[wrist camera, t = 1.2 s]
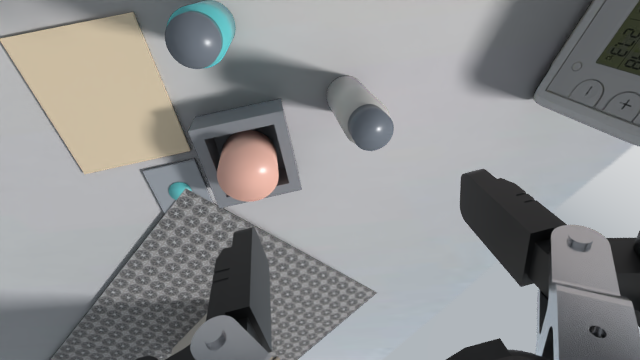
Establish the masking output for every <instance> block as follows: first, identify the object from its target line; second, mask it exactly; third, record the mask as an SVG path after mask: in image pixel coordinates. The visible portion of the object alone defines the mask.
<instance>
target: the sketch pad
mask: <svg viewBox="0 0 640 360" xmlns="http://www.w3.org/2000/svg"><path fill="white" fill-rule="evenodd" d="M0 41H1V43H2V44H3V46H4V48H5V49H6V51H7V52H8V54H9V55H10V57H11V59H12V60H13V62H14V63H15V65H16V67H17V68H18V70H19V71H20V73H21V74H22V76H23V78H24V79H25V81H26V82H27V84H28V86H29V87H30V89H31V90H32V92H33V93H34V95H35V97H36V98H37V100H38V101H39V103H40V105H41V106H42V108H43V109H44V111H45V112H46V114H47V116H48V117H49V119H50V120H51V122H52V124H53V125H54V127H55V128H56V130H57V131H58V133H59V135H60V136H61V138H62V139H63V141H64V142H65V144H66V146H67V147H68V149H69V150H70V152H71V154H72V155H73V157H74V158H75V160H76V161H77V163H78V165H79V166H80V168H81V169H82V171H83V173H84V174H88V173H93V172H97V171H102V170H106V169H111V168H116V167H120V166H125V165H129V164H134V163H138V162H143V161H147V160H152V159H156V158H161V157H165V156H170V155H175V154H179V153H184V152H188V151H191V149H190V146H189V144H188V142H187V139H186V137H185V134H184V132H183V130H182V127H181V125H180V122H179V120H178V118H177V115H176V113H175V110H174V108H173V106H172V103H171V101H170V98H169V96H168V94H167V91H166V89H165V86H164V84H163V82H162V79H161V77H160V74H159V72H158V70H157V67H156V65H155V62H154V60H153V58H152V55H151V53H150V50H149V48H148V46H147V43H146V41H145V38H144V36H143V34H142V31H141V29H140V26H139V24H138V22H137V19H136V17H135V14H134V12H130V13H125V14H120V15H115V16H110V17H105V18H100V19H95V20H90V21H85V22H81V23H76V24H71V25H66V26H61V27H56V28H51V29H46V30H41V31H36V32H31V33H26V34H21V35H16V36H11V37H6V38H1V39H0Z"/></svg>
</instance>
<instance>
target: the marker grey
mask: <svg viewBox="0 0 640 360" xmlns="http://www.w3.org/2000/svg"><path fill="white" fill-rule="evenodd" d="M326 97H327V102H328V105H329V106H330V108H331V110H332V112H333V113H334V115H335V117H336V119H337V120H338V122H339V124H340V126H341V127H342V129H343V131H344V133H345V134H346V136H347V138H348V139H349V140H350V141H351V142H353V143H355V144H356V145H357V146H358V147H360V148H361V149H363V150H367V151H373V150H377V149H380V148H382V147H383V146H385V145H386V144H387V143H388V142H389V140H390V139H391V137H392V135H393V130H394V127H393V122H392V120H391V118H390V115H389V112H388V110H387V108H386V107H385V106H384V105H383V104H382V103H381V102H380V101H379V100H378V99H377V98H376V97H375V96H374V95H373V94H372V93H371V92H370V91H369V90H368V89H367V88H366V87H365V86H364V85H363V84H362V83H360V82H359V81H358V80H357V79H356V78H354V77H351V76H342V77H339V78H337V79H335V80H334V81H333V82H332V83H331V84H330V86H329V88H328V90H327V96H326Z"/></svg>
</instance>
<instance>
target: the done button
mask: <svg viewBox="0 0 640 360" xmlns="http://www.w3.org/2000/svg"><path fill="white" fill-rule="evenodd" d="M278 178H279V173H278V162H277V152H276V148H275V146H274V144H273V142H272V141H271V140H270V139H269V138H268V137H267V136H266V135H264V134H263V133H260V132H258V131H254V130H246V131H241V132H237V133H234V134H233V135H231V136H230V137H229V138H228V139H227V140H226V142H225V143H224V145H223V148H222V152H221V156H220V161H219V165H218V169H217V180H218V183H219V185H220V187H221V189H222V190H223V191H224V192H225V193H226V194H227V195H229V196H230V197H232V198H234V199H236V200H240V201H246V202H251V201H257V200H260V199H263V198H265V197H267V196H268V195H269V194H270V193H272V191H273V190H274V189H275V187H276V185H277V183H278Z"/></svg>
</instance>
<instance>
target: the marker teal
mask: <svg viewBox="0 0 640 360" xmlns="http://www.w3.org/2000/svg"><path fill="white" fill-rule="evenodd" d="M235 28H236V27H235V21H234V18H233V16H232V14H231V12H230V11H229V10H228V9H227V8H226V7H225V6H224V5H223V4H221V3H219V2H216V1H212V0H206V1H202V2H198V3H194V4H191V5H187V6H184V7H181V8H179V9H177V10H176V11H175V12H174V13H173V14H172V15H171V16H170V18H169V20H168V23H167V27H166V31H165V41H166V45H167V48H168V50H169V52H170V54H171V55H172V56H173V58H174V59H175V60H176V61H178V62H179V63H180V64H182V65H184V66H186V67H188V68H193V69H201V68H209V67H212V66H214V65H216V64H217V63H219V62H220V61H221V60H222V58H223V57H224V55H225V53H226V51H227V50H228V48H229V46H230V44H231V42H232V40H233V38H234V35H235Z"/></svg>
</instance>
